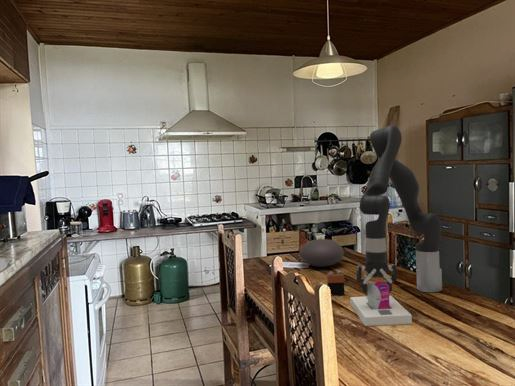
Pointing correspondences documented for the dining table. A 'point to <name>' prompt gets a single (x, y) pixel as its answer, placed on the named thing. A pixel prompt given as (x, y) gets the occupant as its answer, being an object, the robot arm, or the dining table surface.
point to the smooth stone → (321, 252)
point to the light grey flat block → (380, 312)
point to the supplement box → (378, 295)
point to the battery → (336, 282)
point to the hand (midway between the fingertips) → (377, 293)
